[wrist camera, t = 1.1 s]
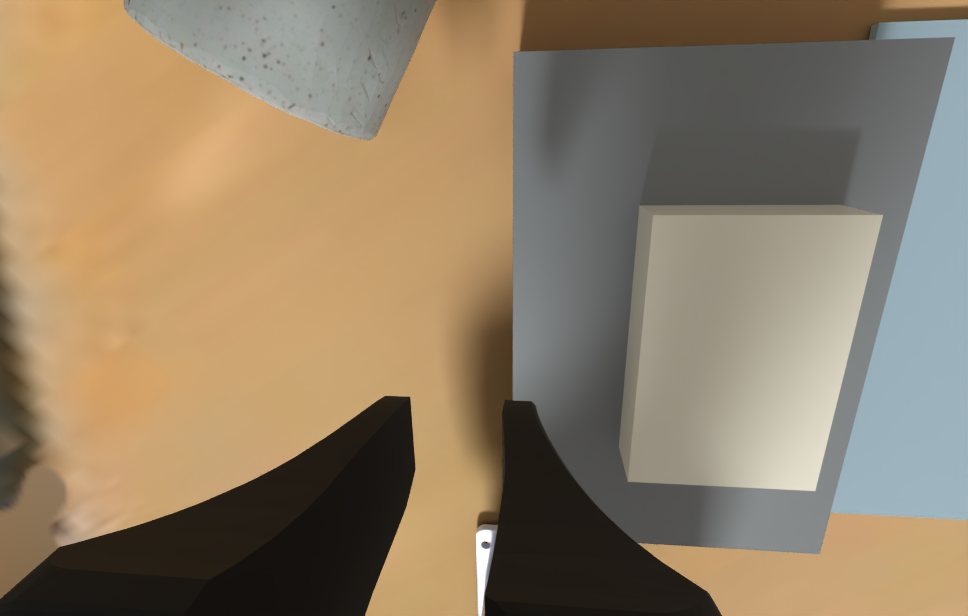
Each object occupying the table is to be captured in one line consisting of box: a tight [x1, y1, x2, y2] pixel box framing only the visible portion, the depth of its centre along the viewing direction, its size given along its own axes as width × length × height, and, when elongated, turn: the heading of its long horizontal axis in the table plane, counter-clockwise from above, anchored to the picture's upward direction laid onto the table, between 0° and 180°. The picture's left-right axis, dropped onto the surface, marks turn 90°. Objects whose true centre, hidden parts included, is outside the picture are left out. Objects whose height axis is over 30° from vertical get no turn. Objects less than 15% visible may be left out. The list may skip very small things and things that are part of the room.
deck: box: [513, 37, 955, 554], centre depth 19 cm, size 18×12×4 cm, turn 1°
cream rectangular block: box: [619, 205, 883, 491], centre depth 16 cm, size 9×6×2 cm, turn 1°
